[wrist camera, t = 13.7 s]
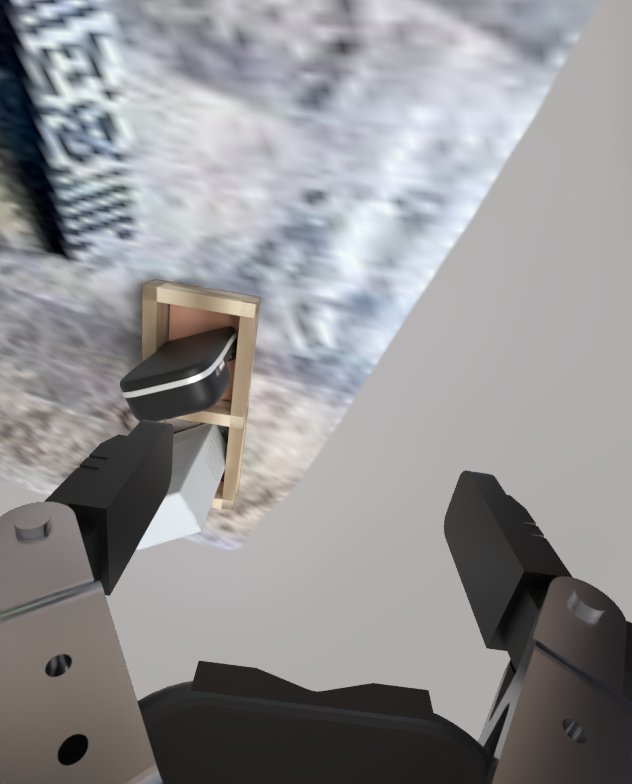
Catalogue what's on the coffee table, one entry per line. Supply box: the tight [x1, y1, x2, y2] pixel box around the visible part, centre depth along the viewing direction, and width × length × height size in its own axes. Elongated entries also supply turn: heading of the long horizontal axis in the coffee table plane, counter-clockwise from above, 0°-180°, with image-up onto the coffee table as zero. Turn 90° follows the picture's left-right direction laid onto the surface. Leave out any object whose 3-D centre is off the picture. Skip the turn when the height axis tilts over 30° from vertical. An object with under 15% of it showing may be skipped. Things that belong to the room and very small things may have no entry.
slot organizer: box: [142, 280, 261, 510], centre depth 40 cm, size 9×22×3 cm, turn 171°
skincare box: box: [136, 423, 227, 550], centre depth 38 cm, size 6×4×12 cm
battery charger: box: [120, 326, 238, 422], centre depth 34 cm, size 7×4×11 cm, turn 104°
